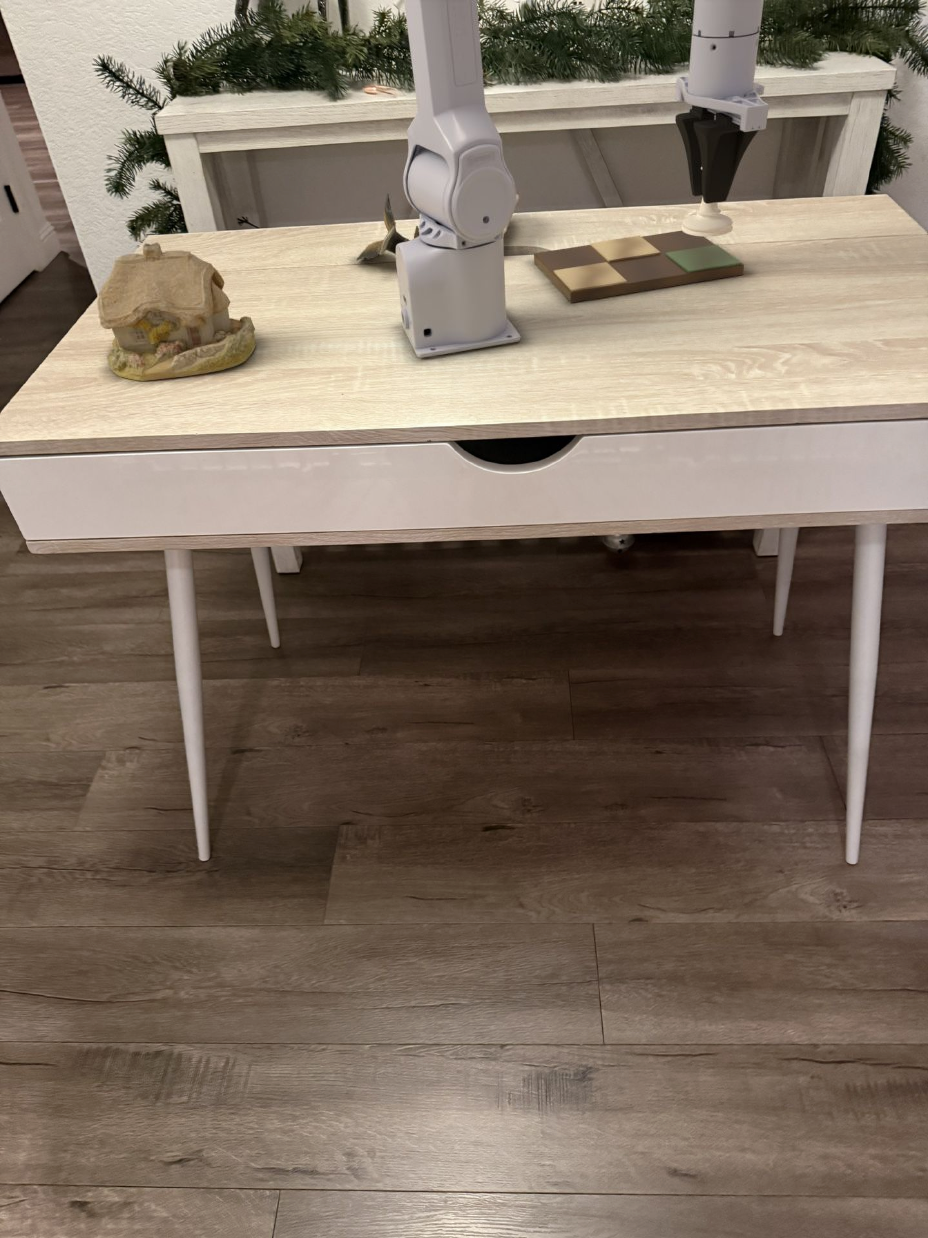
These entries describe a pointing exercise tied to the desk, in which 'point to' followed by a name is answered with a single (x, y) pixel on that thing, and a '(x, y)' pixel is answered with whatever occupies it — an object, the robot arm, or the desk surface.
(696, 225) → the chess piece
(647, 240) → the board
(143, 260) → the ceramic model
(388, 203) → the brown pointed piece
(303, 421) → the desk surface
